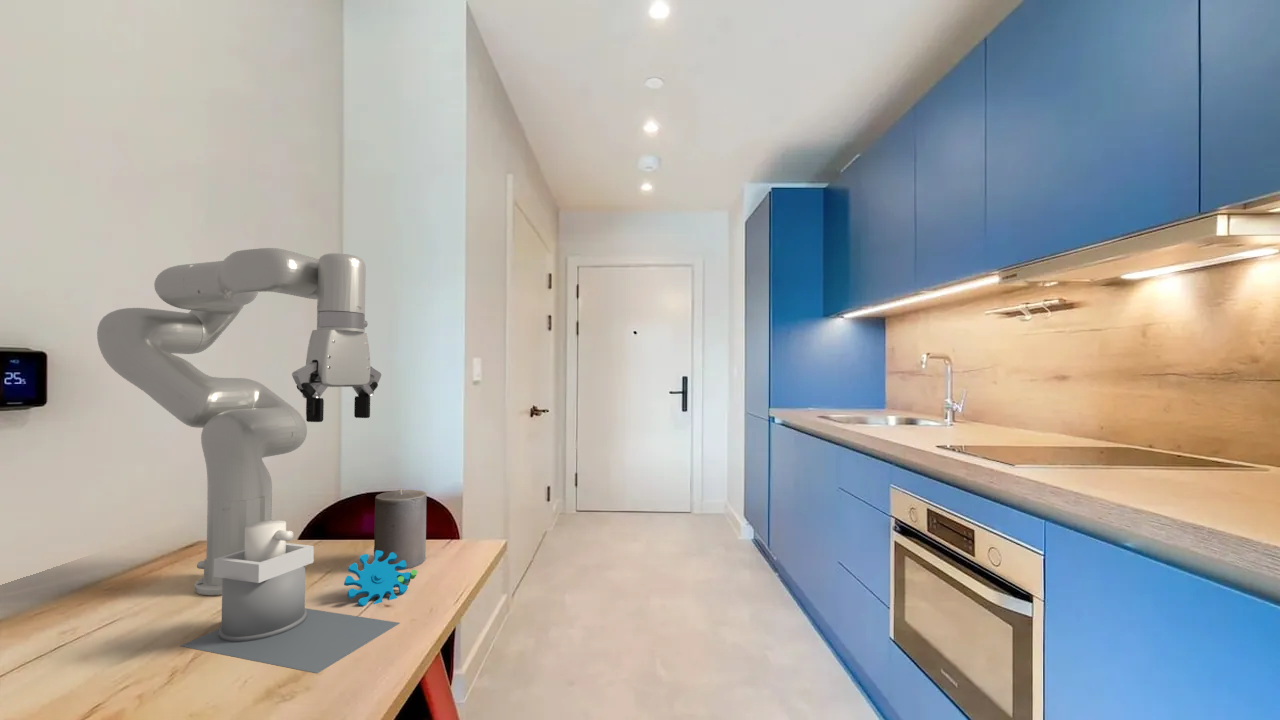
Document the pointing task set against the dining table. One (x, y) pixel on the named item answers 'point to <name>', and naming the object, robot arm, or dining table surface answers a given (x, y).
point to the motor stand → (281, 615)
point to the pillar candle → (401, 526)
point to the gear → (378, 578)
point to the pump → (266, 540)
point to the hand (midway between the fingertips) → (339, 419)
